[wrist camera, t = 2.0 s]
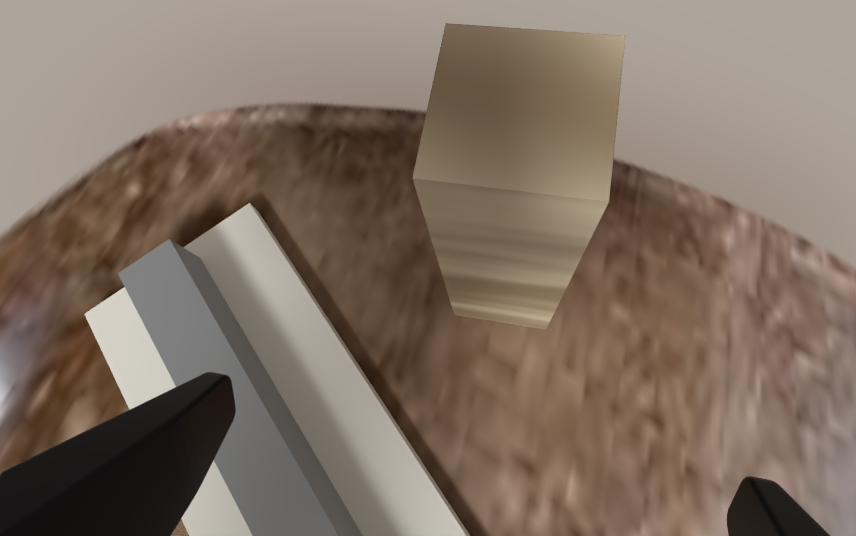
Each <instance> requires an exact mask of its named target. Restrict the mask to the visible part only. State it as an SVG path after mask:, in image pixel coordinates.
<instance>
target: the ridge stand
mask: <svg viewBox="0 0 856 536" xmlns="http://www.w3.org/2000/svg"><path fill="white" fill-rule="evenodd" d="M118 275H119V277H120V279H121V281H122V283H123V285H124V288H122V289H121V290H119V291H118V292H116V293H115V294H113V295H112V296H110V297H109V298H107V299H106V300H104V301H103V302H102V303H100V304H99V305H97V306H96V307H94V308H93V309H91V310H90V311H88V312H87V313H85V316H86V318H87V321H88V323H89V325H90V327H91V329H92V331H93V333H94V335H95V338H96V340H97V342H98V344H99V346H100V348H101V350H102V352H103V354H104V357H105V359H106V361H107V363H108V365H109V367H110V369H111V371H112V373H113V376H114V378H115V380H116V382H117V384H118V386H119V388H120V390H121V392H122V395H123V397H124V399H125V401H126V403H127V405H128V407H129V409H132V408H134V407H136V406H138V405H140V404H142V403H144V402H146V401H149V400H151V399H153V398H155V397H157V396H159V395H161V394H163V393H165V392H167V391H169V390H171V389H173V388H175V387H177V386H179V385H181V384H183V383H185V382H187V381H189V380H192V379H194V378H196V377H198V376H200V375H202V374H204V373H206V372H215V373H220V374H225V375H228V376H229V377H230V378H231V381H232V386H233V393H234V399H235V405H236V413H235V417H234V420H233V422H232V424H231V426H230V428H229V430H228V432H227V434H226V436H225V438H224V440H223V442H222V445H221V447H220V449H219V451H218V453H217V455H216V457H215V459H214V461H213V463H212V465H211V467H210V469H209V471H208V473H207V475H206V477H205V479H204V481H203V483H202V484H201V486H200V488H199V490H198V492H197V494H196V495H195V497H194V499H193V500H192V502H191V504H190V505H189V507H188V509H187V510H186V512H185V513H184V515H183V516H182V518H181V519H182V521H183V523H184V525H185V528H186V530H187V532H188V534H189V536H470V535H469V533H468V531H467V530H466V528H465V527H464V525H463V524H462V522H461V521H460V519H459V518H458V516H457V515H456V513H455V512H454V510H453V508H452V507H451V505H450V504H449V502H448V501H447V499H446V498H445V496H444V495H443V493H442V492H441V490H440V489H439V487H438V486H437V484H436V482H435V481H434V479H433V478H432V476H431V475H430V473H429V472H428V470H427V469H426V467H425V466H424V464H423V463H422V461H421V460H420V458H419V456H418V455H417V453H416V452H415V450H414V449H413V447H412V446H411V444H410V443H409V441H408V440H407V438H406V437H405V435H404V434H403V432H402V430H401V429H400V427H399V426H398V424H397V423H396V421H395V420H394V418H393V417H392V415H391V414H390V412H389V411H388V409H387V408H386V406H385V404H384V403H383V401H382V400H381V398H380V397H379V395H378V394H377V392H376V391H375V389H374V388H373V386H372V385H371V383H370V382H369V380H368V378H367V377H366V375H365V374H364V372H363V371H362V369H361V368H360V366H359V365H358V363H357V362H356V360H355V359H354V357H353V356H352V354H351V352H350V351H349V349H348V348H347V346H346V345H345V343H344V342H343V340H342V339H341V337H340V336H339V334H338V333H337V331H336V330H335V328H334V326H333V325H332V323H331V322H330V320H329V319H328V317H327V316H326V314H325V313H324V311H323V310H322V308H321V307H320V305H319V304H318V302H317V300H316V299H315V297H314V296H313V294H312V293H311V291H310V290H309V288H308V287H307V285H306V284H305V282H304V281H303V279H302V278H301V276H300V274H299V273H298V271H297V270H296V268H295V267H294V265H293V264H292V262H291V261H290V259H289V258H288V256H287V255H286V253H285V252H284V250H283V248H282V247H281V245H280V244H279V242H278V241H277V239H276V238H275V236H274V235H273V233H272V232H271V230H270V229H269V227H268V226H267V224H266V222H265V221H264V219H263V218H262V216H261V215H260V213H259V212H258V211H257V210H256V209H255V208H254V207H253V206H252V205H251V204H250V203H249V204H247V205H246V206H244V207H243V208H241V209H240V210H238V211H237V212H235V213H234V214H232V215H231V216H229V217H228V218H226V219H225V220H223V221H222V222H220V223H219V224H217V225H216V226H214V227H213V228H211V229H210V230H208V231H207V232H205V233H204V234H202V235H201V236H200V237H198V238H197V239H195V240H194V241H192V242H191V243H189V244H188V245H186V246H185V247H182V246H180V245H178V244H177V243H175V242H174V241H172V240H170V239H169V240H167V241H166V242H164V243H163V244H161V245H160V246H158V247H157V248H155V249H154V250H152V251H151V252H149V253H148V254H146V255H145V256H143V257H142V258H140V259H139V260H137V261H136V262H134V263H133V264H131V265H130V266H128V267H127V268H125V269H124V270H122V271H121V272H119V273H118Z"/></svg>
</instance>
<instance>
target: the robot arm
mask: <svg viewBox="0 0 856 536" xmlns="http://www.w3.org/2000/svg"><path fill="white" fill-rule="evenodd" d="M235 413H236V405H235V399H234V393H233V386H232V381H231V378H230V377H229V376H228V375H225V374H220V373H215V372H206V373H204V374H202V375H200V376H198V377H196V378H194V379H192V380H189V381H187V382H185V383H183V384H181V385H179V386H177V387H175V388H173V389H171V390H169V391H167V392H165V393H163V394H161V395H159V396H157V397H155V398H153V399H151V400H149V401H146V402H144V403H142V404H140V405H138V406H136V407H134V408H132V409H130V410H128V411H126V412H124V413H122V414H120V415H118V416H116V417H114V418H112V419H110V420H108V421H106V422H103V423H101V424H99V425H97V426H95V427H93V428H91V429H89V430H87V431H85V432H83V433H81V434H79V435H77V436H75V437H73V438H71V439H69V440H67V441H65V442H63V443H60V444H58V445H56V446H54V447H52V448H50V449H48V450H46V451H44V452H42V453H40V454H38V455H36V456H34V457H32V458H30V459H28V460H26V461H24V462H22V463H19V464H17V465H15V466H13V467H11V468H9V469H7V470H5V471H3V472H2V473H1V474H0V536H170V535H171V534H172V532H173V531H174V529H175V528H176V526H177V524H178V523H179V521H180V520H181V518H182V516H183V515H184V513H185V512H186V510H187V509H188V507H189V505H190V504H191V502H192V500H193V499H194V497H195V495H196V494H197V492H198V490H199V488H200V486H201V484H202V483H203V481H204V479H205V477H206V475H207V473H208V471H209V469H210V467H211V465H212V463H213V461H214V459H215V457H216V455H217V453H218V451H219V449H220V447H221V445H222V442H223V440H224V438H225V436H226V434H227V432H228V430H229V428H230V426H231V424H232V422H233V420H234V417H235ZM727 527H728V534H729V536H830V535H829V534H828V533H827V532H826V531H825V530H824V529H823V528H822V527H821V526H820V525H819V524H818V523H817V522H816V521H815V520H814V519H813V518H812V517H811V516H810V515H809V514H808V513H807V512H806V511H805V510H804V509H803V508H802V507H801V506H800V505H799V504H798V503H797V502H796V501H795V500H794V499H793V498H792V497H791V496H790V495H789V494H788V493H787V492H786V491H785V490H784V489H783V488H782V487H781V486H779V485H778V484H777V483H776V482H774V481H771V480H767V479H762V478H757V477H751V476H749V477H745V478H744V479H743V480H742V482H741V484H740V486H739V488H738V490H737V492H736V494H735V496H734V498H733V500H732V503H731V505H730V507H729V509H728V513H727Z"/></svg>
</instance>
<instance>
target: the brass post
mask: <svg viewBox="0 0 856 536" xmlns="http://www.w3.org/2000/svg"><path fill="white" fill-rule="evenodd" d="M624 44H625V36H620V35H606V34H591V33H576V32H562V31H547V30H533V29H519V28H504V27H490V26H476V25H462V24H461V25H460V24H447V23H446V25H445V30H444V35H443V39H442V44H441V48H440V53H439V57H438V62H437V67H436V71H435V76H434V81H433V85H432V90H431V94H430V99H429V104H428V108H427V113H426V117H425V122H424V127H423V131H422V136H421V141H420V145H419V150H418V154H417V159H416V164H415V168H414V173H413V177H412V179H413V182H414V185H415V189H416V192H417V195H418V198H419V202H420V205H421V208H422V211H423V215H424V218H425V221H426V225H427V228H428V231H429V234H430V238H431V241H432V244H433V247H434V251H435V254H436V257H437V260H438V264H439V267H440V270H441V273H442V277H443V280H444V283H445V286H446V290H447V293H448V296H449V300H450V303H451V306H452V309H453V313H454V315H458V316H465V317H471V318H477V319H483V320H490V321H496V322H502V323H508V324H514V325H521V326H527V327H533V328H539V329H546V328H547V326H548V324H549V322H550V320H551V318H552V316H553V314H554V312H555V310H556V308H557V306H558V304H559V302H560V300H561V298H562V296H563V294H564V292H565V290H566V288H567V286H568V284H569V282H570V280H571V278H572V276H573V274H574V272H575V270H576V267H577V265H578V263H579V261H580V259H581V257H582V255H583V253H584V251H585V249H586V247H587V245H588V243H589V241H590V239H591V237H592V235H593V233H594V231H595V229H596V227H597V225H598V223H599V221H600V219H601V217H602V215H603V213H604V211H605V209H606V207H607V205H608V203H609V196H610V186H611V176H612V165H613V155H614V145H615V134H616V125H617V114H618V105H619V95H620V85H621V75H622V64H623V55H624Z"/></svg>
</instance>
